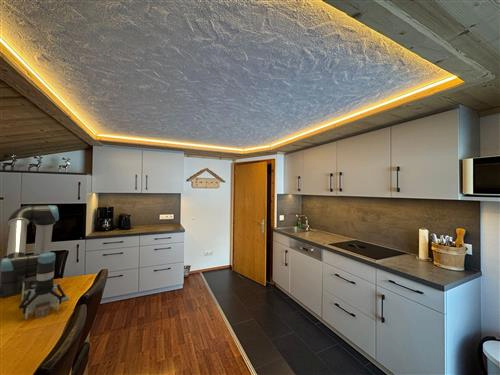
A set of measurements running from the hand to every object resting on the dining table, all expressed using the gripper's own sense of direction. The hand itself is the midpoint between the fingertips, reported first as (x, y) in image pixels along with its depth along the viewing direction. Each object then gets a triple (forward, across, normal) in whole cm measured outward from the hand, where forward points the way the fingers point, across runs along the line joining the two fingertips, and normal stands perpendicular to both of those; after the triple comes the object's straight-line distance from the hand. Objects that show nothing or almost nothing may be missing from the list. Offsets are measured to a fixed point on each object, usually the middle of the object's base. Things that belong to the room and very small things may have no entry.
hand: (42, 313), depth 123 cm
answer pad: (0, +9, +14) cm, 17 cm away
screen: (0, 0, +7) cm, 7 cm away
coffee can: (0, -4, +28) cm, 28 cm away
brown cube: (0, 0, 0) cm, 0 cm away
